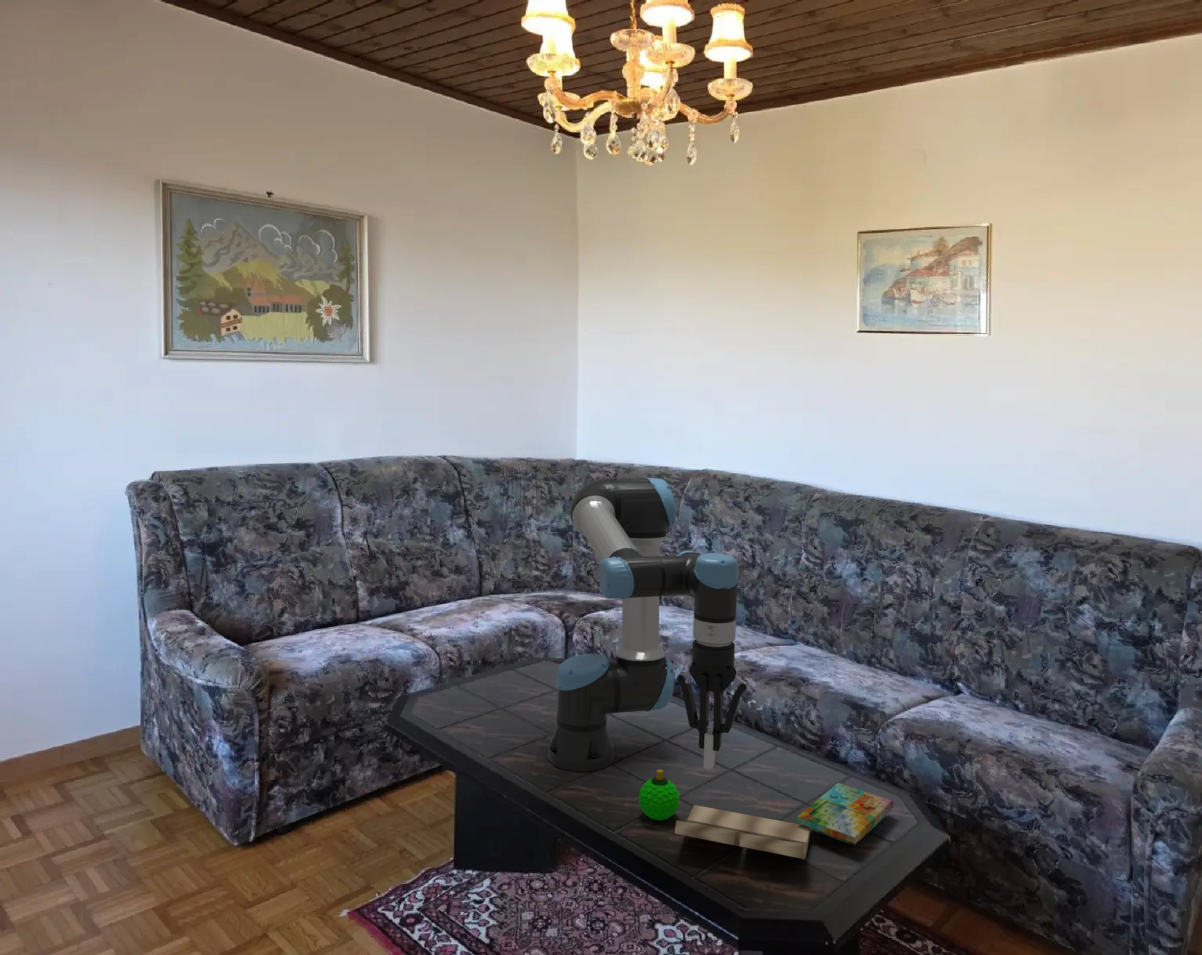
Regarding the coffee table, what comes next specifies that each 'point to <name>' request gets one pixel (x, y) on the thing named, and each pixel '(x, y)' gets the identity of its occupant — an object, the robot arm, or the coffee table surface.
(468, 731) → the coffee table surface
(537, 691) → the coffee table surface
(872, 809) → the puzzle game
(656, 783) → the ornament
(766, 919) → the coffee table surface
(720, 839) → the plank
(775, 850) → the plank
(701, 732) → the robot arm
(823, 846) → the coffee table surface
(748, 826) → the laid board
